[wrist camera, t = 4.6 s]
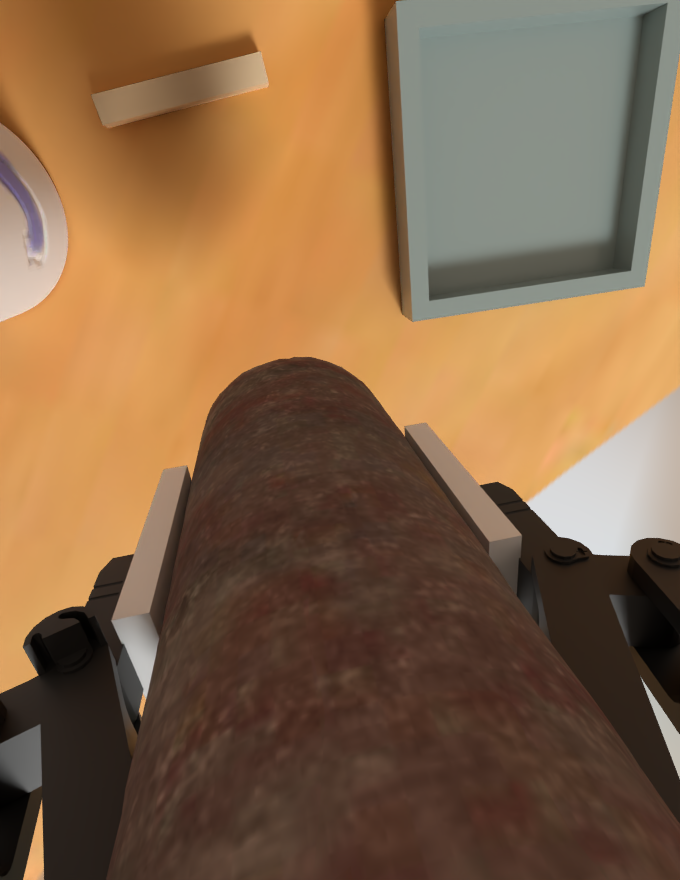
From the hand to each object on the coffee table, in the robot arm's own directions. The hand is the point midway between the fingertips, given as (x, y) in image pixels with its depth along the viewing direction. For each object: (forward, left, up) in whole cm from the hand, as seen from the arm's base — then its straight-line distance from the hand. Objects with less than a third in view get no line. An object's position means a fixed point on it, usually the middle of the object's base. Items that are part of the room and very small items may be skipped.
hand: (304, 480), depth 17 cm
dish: (+14, +9, -14) cm, 22 cm away
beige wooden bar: (-3, +14, -15) cm, 20 cm away
